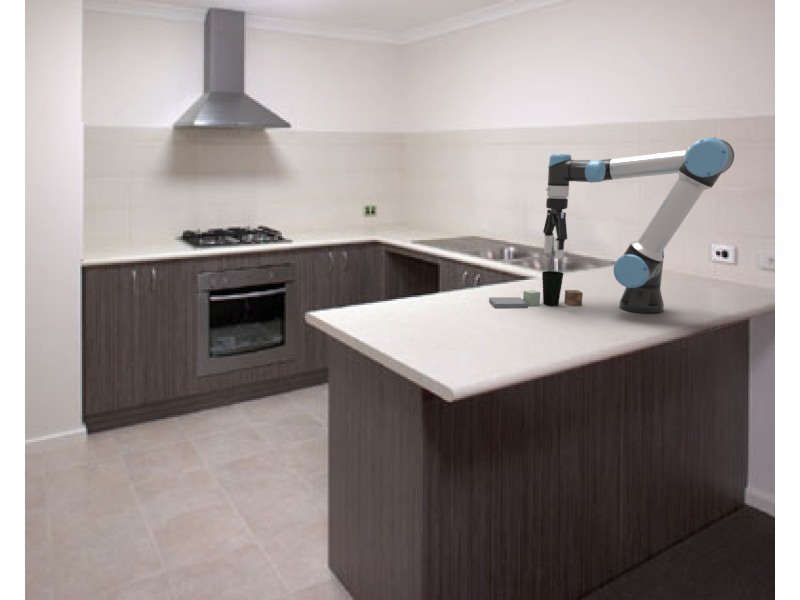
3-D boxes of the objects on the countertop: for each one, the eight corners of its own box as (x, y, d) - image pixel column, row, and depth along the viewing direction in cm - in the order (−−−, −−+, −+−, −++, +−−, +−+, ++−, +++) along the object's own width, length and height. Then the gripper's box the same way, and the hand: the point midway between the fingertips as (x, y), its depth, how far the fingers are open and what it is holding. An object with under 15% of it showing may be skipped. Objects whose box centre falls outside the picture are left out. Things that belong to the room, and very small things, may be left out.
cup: (536, 304, 238) (538, 272, 236) (547, 301, 243) (549, 270, 241) (554, 307, 233) (556, 275, 230) (565, 304, 238) (567, 273, 235)
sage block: (532, 303, 240) (533, 290, 239) (539, 305, 236) (540, 292, 235) (522, 303, 239) (523, 290, 238) (529, 306, 235) (530, 293, 234)
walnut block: (577, 302, 242) (578, 289, 240) (581, 305, 237) (582, 292, 236) (564, 302, 241) (565, 290, 240) (568, 305, 236) (569, 292, 235)
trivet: (519, 301, 243) (520, 297, 242) (527, 307, 232) (528, 303, 231) (489, 301, 242) (489, 297, 241) (495, 308, 231) (495, 303, 231)
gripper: (537, 195, 241) (533, 250, 246) (558, 199, 217) (553, 261, 222) (556, 195, 242) (552, 250, 247) (579, 200, 218) (574, 261, 222)
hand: (553, 255), depth 234 cm, fingers open, 13 cm apart
